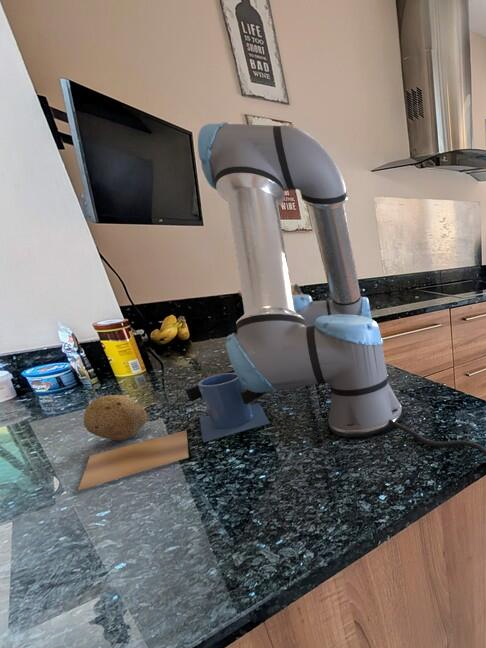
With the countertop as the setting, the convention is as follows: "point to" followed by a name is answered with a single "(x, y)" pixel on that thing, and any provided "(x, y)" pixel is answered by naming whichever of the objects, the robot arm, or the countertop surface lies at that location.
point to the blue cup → (225, 400)
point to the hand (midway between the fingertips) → (215, 397)
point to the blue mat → (213, 433)
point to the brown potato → (114, 417)
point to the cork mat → (134, 459)
